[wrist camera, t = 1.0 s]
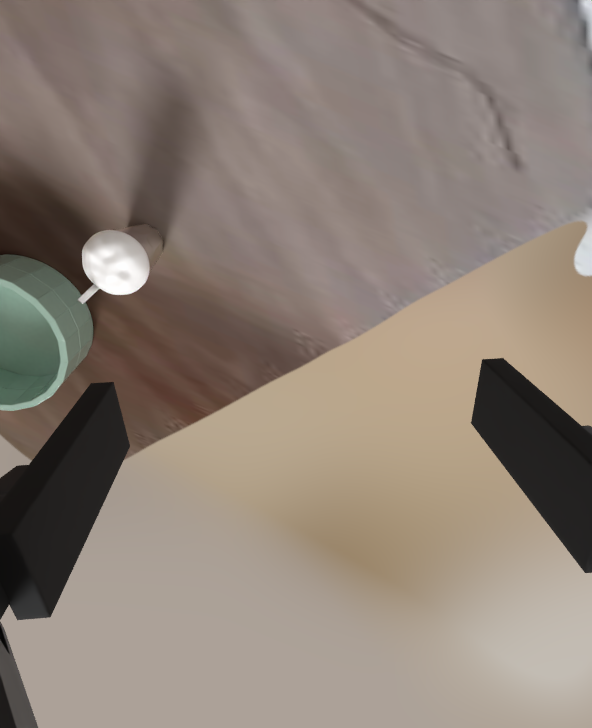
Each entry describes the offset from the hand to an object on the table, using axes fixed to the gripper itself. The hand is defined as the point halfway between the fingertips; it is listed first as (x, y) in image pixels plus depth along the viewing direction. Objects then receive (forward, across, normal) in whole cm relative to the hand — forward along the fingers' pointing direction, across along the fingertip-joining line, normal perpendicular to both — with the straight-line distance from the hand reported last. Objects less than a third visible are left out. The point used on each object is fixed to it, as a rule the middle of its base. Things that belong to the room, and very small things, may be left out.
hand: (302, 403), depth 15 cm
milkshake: (+26, -12, +1) cm, 29 cm away
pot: (+26, -24, -5) cm, 36 cm away
